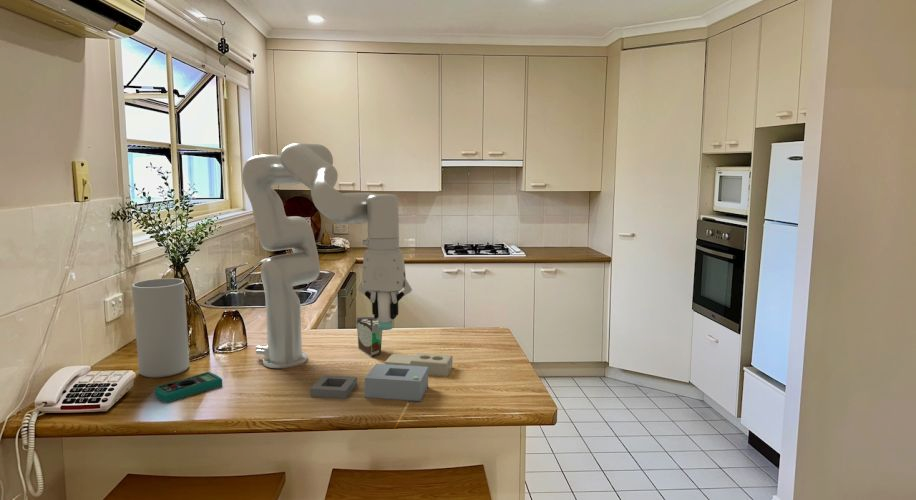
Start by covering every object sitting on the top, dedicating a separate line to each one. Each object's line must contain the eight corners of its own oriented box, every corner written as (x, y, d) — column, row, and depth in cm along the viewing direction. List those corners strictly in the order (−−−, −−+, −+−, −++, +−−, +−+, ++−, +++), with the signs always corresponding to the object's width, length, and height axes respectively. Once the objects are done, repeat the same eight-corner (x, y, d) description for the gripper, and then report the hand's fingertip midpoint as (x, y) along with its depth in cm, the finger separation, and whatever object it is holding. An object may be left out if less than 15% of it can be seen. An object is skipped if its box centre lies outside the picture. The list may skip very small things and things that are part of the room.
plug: (376, 329, 136) (375, 290, 135) (380, 325, 140) (379, 287, 139) (390, 330, 136) (389, 290, 134) (394, 326, 139) (393, 287, 138)
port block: (364, 399, 137) (364, 376, 136) (376, 383, 147) (376, 362, 146) (420, 402, 135) (420, 379, 134) (428, 386, 145) (428, 365, 144)
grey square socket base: (310, 397, 137) (310, 388, 137) (324, 384, 146) (323, 375, 146) (345, 400, 136) (345, 390, 136) (356, 386, 145) (356, 377, 144)
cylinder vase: (166, 380, 147) (159, 289, 143) (128, 375, 150) (120, 285, 147) (199, 365, 159) (194, 279, 155) (163, 360, 162) (157, 277, 159)
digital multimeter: (152, 397, 138) (151, 385, 137) (210, 380, 149) (210, 369, 149) (164, 405, 133) (163, 394, 133) (224, 387, 144) (223, 376, 144)
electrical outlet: (392, 350, 162) (452, 354, 159) (392, 363, 163) (452, 368, 159) (384, 358, 155) (447, 363, 152) (384, 372, 156) (447, 377, 152)
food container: (391, 355, 169) (391, 323, 167) (373, 358, 165) (373, 326, 164) (374, 344, 179) (373, 314, 177) (356, 347, 176) (355, 317, 174)
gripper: (345, 246, 133) (348, 320, 135) (413, 247, 130) (414, 322, 133) (356, 242, 140) (358, 312, 143) (420, 243, 137) (421, 315, 140)
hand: (385, 316), depth 138 cm, fingers closed on plug, 3 cm apart
